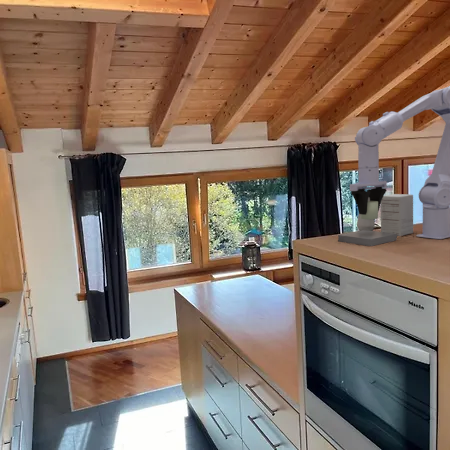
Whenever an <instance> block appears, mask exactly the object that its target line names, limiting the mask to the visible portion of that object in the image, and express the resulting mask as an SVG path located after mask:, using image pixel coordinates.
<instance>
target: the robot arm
mask: <svg viewBox="0 0 450 450" xmlns="http://www.w3.org/2000/svg"><path fill="white" fill-rule="evenodd" d="M428 110H431V111H432V112H434V113H435V114H437V115H438V116H439V117H440V118H441V119H442V120H443V122H444V123H445V124H444V129H443V132H442V136H441V140H440V143H439V146H438V150H437V154H436V157H435V160H434V164H433V166H432V167H433V168H432V171H431V174H430V175H429V176H428V177H427V178H426V179H425V182H424V184H423V185H422V187H421V188H420V189H419V192H418V200H419V202H420V203H422V233H420V234H416V237H420V238H427V239H434V240H443V239H447V238H450V85H449V86H446V87H443V88H441V89H436V90H433V91H432V92H430V93H427V94H424V95H423V96H421V97H419V98H418V99H416V100H415V101H413V102H412V103H410V104H408V105H407V106H406V107H404V108H402V109H401V110H399V111H398V112H396V111H386V112H384V113H382V116H381V117H380V118H378V119H376V120H371V121H370V122H368V126H364V127H361V128H359V129H358V130H357V133H356V135H355V137H354V142H355V144H356V145H357V146H358V149H357V150H358V156H357V157H358V161H357V163H358V165H357V168H358V182H355V183H351V184H350V183H349V191H350V194H351V196H352V197H353V199H354V201H355V204H356V207H357V210H358V215H359V214H362V215H366V213H367V203H368V198H370V201H378V212H379V211H380V209H381V201H382V198H383V196H385V194H386V193H387V188H388V185H387V184H388V182H387V181H386V180H380V177H379V175H380V173H379V172H380V166H379V162H380V161H379V159H380V158H379V157H380V155H379V154H380V152H379V151H380V150H379V147H380V146H379V144H381V142H382V141H383V140H384V139H385V138H387V137H389V136H390V135H392V134H394V133H396V132H397V131H399V130H401V129H402V128H403V125H404V122H405V121H407V120H409V119H410V118H412V117H415V116H416V115H418V114H420V113H422V112H424V111H428Z"/></svg>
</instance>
